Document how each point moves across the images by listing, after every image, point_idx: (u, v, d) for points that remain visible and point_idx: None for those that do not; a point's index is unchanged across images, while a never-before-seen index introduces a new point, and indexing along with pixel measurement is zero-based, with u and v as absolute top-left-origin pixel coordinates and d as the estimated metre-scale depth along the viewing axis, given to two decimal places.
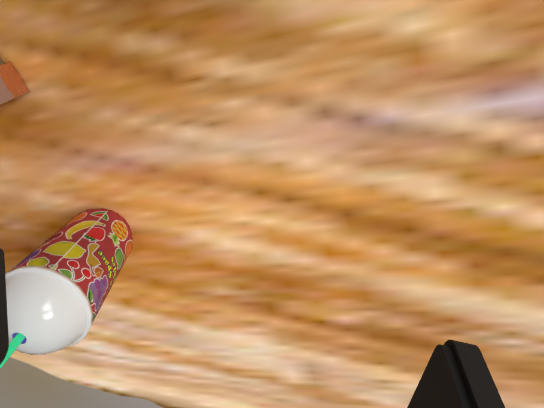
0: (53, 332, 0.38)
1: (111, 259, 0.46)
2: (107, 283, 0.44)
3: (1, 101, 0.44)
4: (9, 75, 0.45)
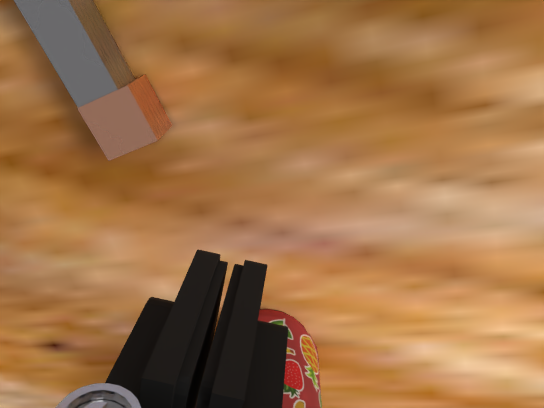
0: None
1: None
2: None
3: (133, 146, 0.25)
4: (147, 99, 0.25)
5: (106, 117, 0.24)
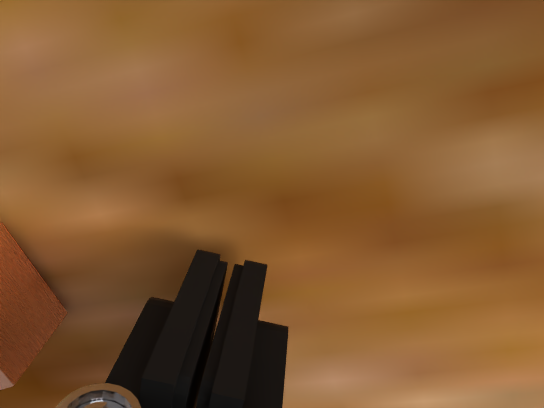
0: None
1: None
2: None
3: None
4: None
5: None
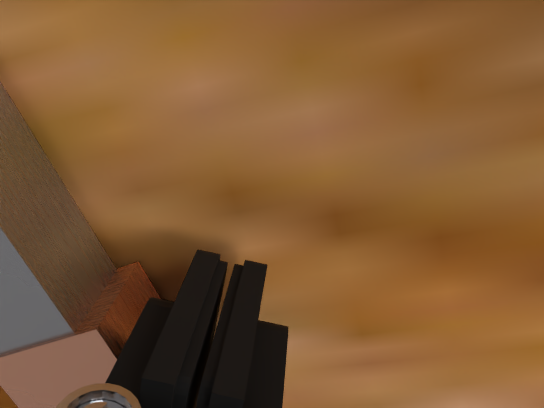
0: None
1: None
2: None
3: None
4: None
5: (49, 382, 0.11)
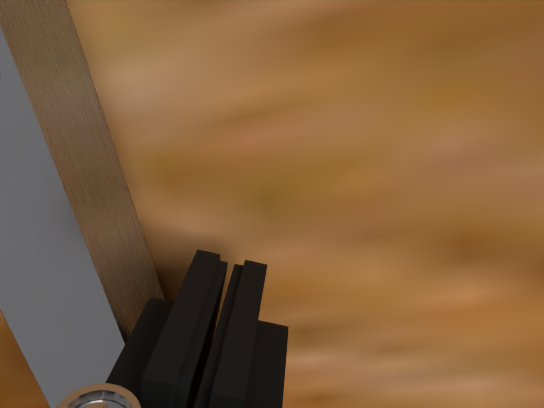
0: None
1: None
2: None
3: None
4: None
5: None
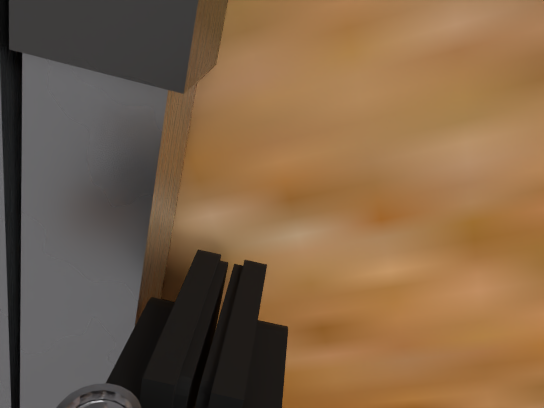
0: None
1: None
2: None
3: None
4: None
5: None
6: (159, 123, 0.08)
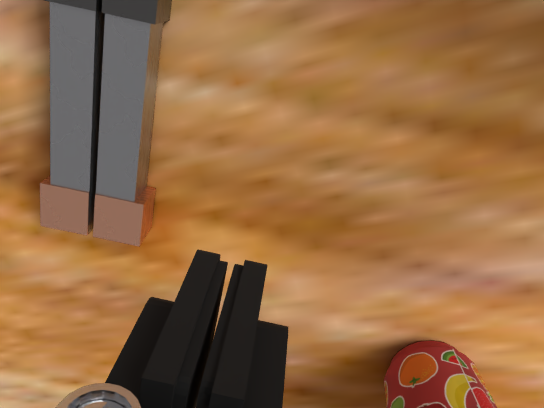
0: None
1: None
2: None
3: (119, 239, 0.31)
4: (148, 211, 0.31)
5: (113, 212, 0.30)
6: (148, 35, 0.25)
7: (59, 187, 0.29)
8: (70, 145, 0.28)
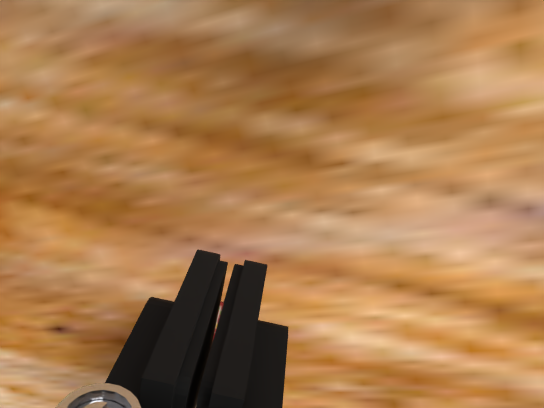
0: None
1: None
2: None
3: None
4: None
5: None
6: None
7: None
8: None
